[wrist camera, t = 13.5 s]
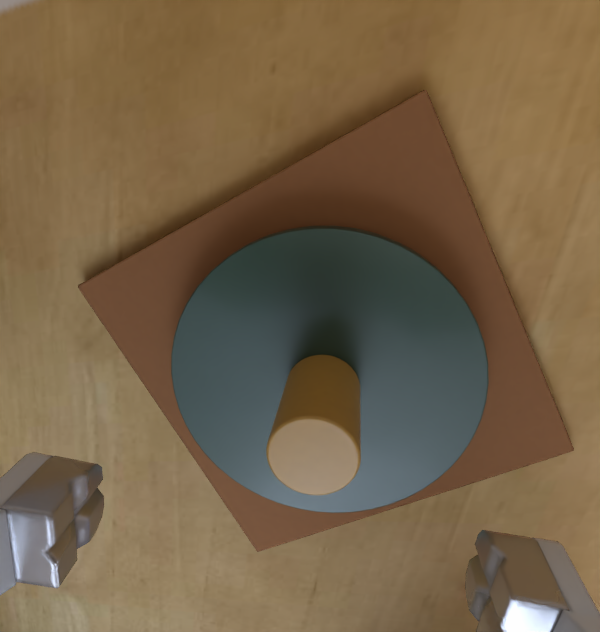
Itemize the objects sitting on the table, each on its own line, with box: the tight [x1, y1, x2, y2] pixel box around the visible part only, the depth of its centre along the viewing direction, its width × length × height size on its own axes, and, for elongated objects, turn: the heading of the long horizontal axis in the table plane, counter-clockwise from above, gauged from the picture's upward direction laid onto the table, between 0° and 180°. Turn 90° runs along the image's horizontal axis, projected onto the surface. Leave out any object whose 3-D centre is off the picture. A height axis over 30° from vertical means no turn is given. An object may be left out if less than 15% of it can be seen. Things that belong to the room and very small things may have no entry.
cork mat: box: [78, 90, 574, 552], centre depth 18 cm, size 14×14×1 cm
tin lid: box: [171, 226, 489, 513], centre depth 15 cm, size 11×11×5 cm
